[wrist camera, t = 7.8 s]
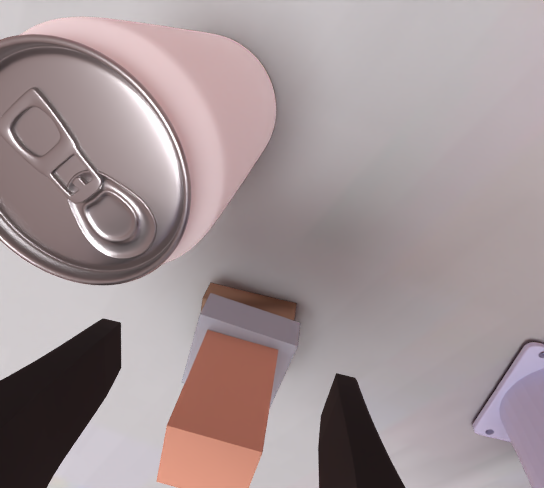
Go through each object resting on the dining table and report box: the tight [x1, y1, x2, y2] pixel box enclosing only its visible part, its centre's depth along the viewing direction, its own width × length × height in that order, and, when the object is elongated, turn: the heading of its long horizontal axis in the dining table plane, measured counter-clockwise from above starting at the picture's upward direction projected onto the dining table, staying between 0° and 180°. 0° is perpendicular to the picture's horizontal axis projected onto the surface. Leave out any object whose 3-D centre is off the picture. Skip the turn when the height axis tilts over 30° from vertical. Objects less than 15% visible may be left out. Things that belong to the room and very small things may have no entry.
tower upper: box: [181, 293, 300, 409], centre depth 23 cm, size 6×6×2 cm
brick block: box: [157, 330, 278, 488], centre depth 19 cm, size 4×4×6 cm
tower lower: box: [201, 283, 297, 321], centre depth 24 cm, size 6×6×2 cm
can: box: [0, 17, 276, 285], centre depth 14 cm, size 6×6×12 cm
